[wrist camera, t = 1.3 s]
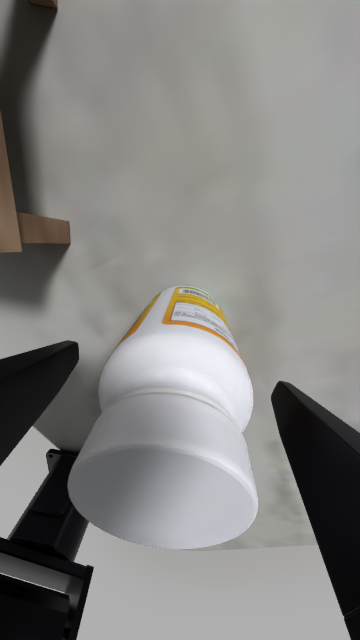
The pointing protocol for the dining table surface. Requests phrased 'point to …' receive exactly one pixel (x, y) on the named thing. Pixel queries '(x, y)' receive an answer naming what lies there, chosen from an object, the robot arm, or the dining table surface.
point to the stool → (15, 227)
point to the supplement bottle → (170, 431)
